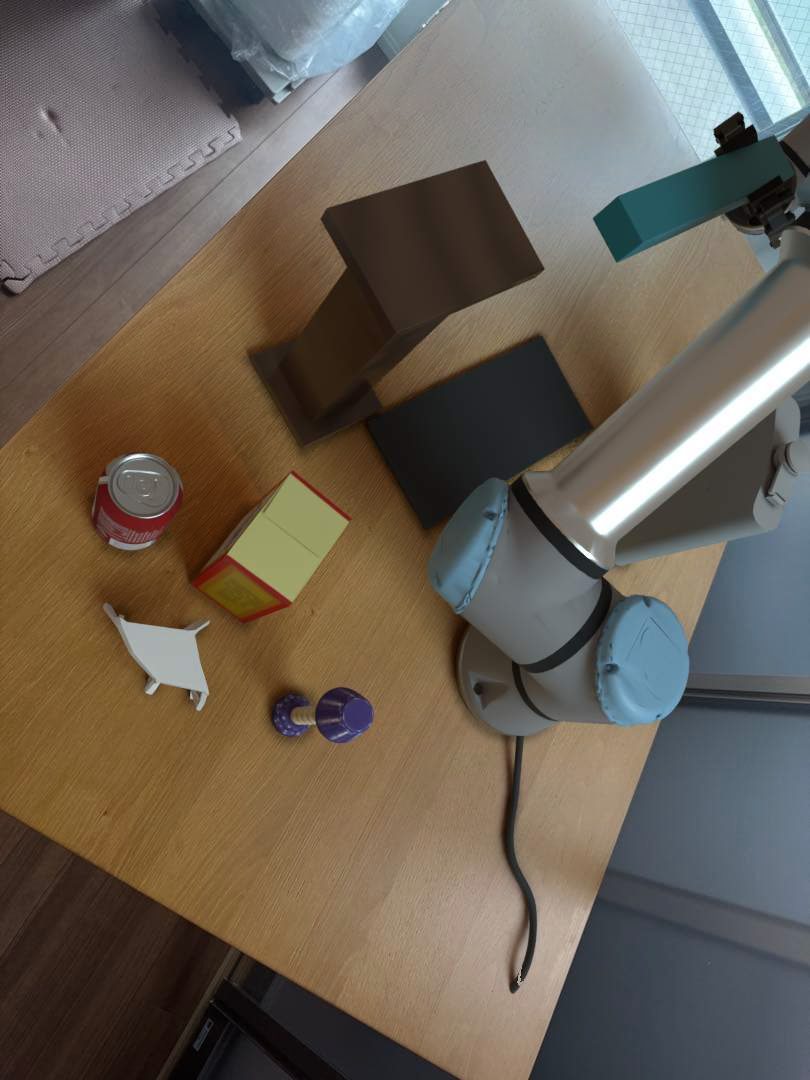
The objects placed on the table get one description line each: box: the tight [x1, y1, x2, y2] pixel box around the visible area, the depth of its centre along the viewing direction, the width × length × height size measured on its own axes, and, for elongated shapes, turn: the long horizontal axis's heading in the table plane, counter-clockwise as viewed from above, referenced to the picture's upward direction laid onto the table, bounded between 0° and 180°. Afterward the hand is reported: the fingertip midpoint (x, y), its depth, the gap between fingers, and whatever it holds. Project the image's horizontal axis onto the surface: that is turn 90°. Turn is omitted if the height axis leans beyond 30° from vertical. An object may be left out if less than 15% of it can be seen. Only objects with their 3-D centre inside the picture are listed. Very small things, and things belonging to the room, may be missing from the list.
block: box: [592, 134, 795, 264], centre depth 61 cm, size 23×4×3 cm, turn 123°
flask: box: [614, 396, 810, 567], centre depth 88 cm, size 17×5×25 cm, turn 156°
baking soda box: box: [190, 469, 353, 625], centre depth 67 cm, size 10×6×16 cm
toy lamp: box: [270, 686, 375, 744], centre depth 66 cm, size 5×5×17 cm
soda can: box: [91, 451, 184, 552], centre depth 65 cm, size 7×7×12 cm
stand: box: [249, 159, 546, 450], centre depth 68 cm, size 16×11×30 cm
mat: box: [364, 335, 593, 531], centre depth 90 cm, size 30×14×1 cm, turn 123°
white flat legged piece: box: [102, 602, 211, 712], centre depth 66 cm, size 12×8×5 cm
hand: (751, 164), depth 61 cm, fingers closed on block, 4 cm apart
